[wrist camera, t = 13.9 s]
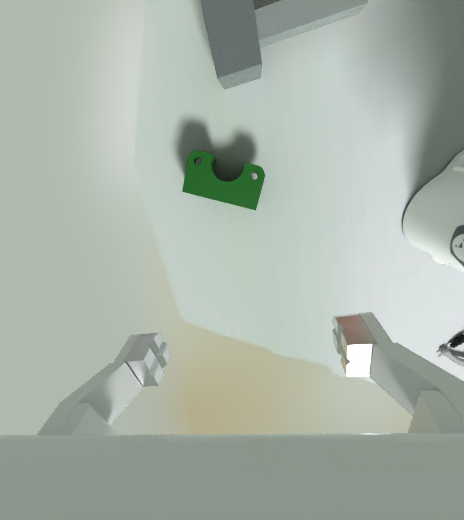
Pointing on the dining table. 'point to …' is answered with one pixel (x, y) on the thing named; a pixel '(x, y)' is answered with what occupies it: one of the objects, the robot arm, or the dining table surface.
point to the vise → (262, 30)
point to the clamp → (222, 182)
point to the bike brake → (454, 344)
